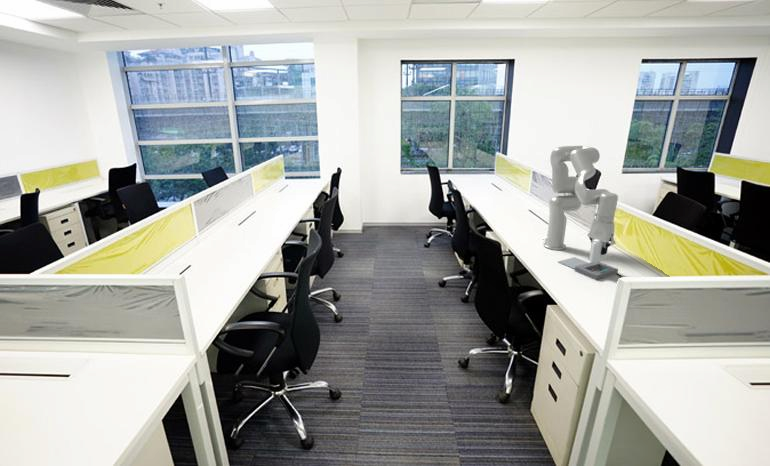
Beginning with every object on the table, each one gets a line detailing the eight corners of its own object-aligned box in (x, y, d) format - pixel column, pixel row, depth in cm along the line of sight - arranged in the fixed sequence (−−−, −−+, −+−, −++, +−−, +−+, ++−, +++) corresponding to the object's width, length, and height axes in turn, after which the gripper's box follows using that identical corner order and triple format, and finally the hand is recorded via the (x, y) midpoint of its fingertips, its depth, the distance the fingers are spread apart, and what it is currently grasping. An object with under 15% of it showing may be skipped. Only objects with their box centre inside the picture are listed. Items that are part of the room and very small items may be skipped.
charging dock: (574, 271, 188) (575, 266, 187) (595, 265, 194) (596, 260, 193) (595, 280, 178) (596, 274, 177) (617, 273, 184) (618, 268, 183)
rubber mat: (557, 262, 199) (557, 261, 199) (574, 257, 204) (574, 257, 204) (573, 269, 191) (573, 268, 190) (590, 264, 195) (590, 263, 195)
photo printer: (598, 256, 189) (602, 234, 185) (607, 259, 185) (611, 236, 181) (587, 261, 184) (590, 238, 180) (595, 264, 180) (599, 240, 176)
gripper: (584, 214, 183) (578, 248, 189) (616, 224, 168) (609, 260, 174) (594, 212, 186) (588, 245, 192) (626, 221, 171) (619, 257, 177)
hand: (598, 252), depth 183 cm, fingers closed on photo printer, 4 cm apart
